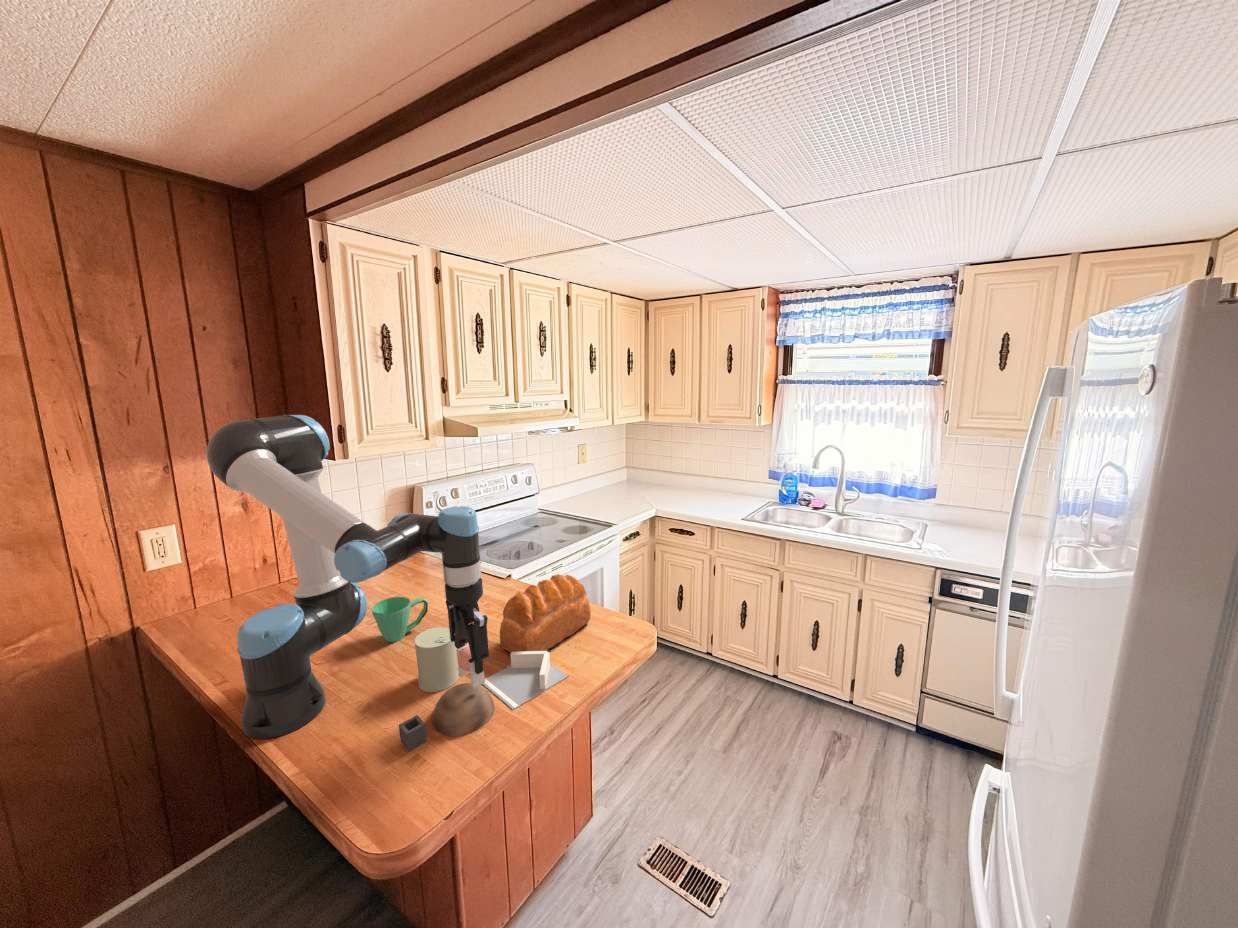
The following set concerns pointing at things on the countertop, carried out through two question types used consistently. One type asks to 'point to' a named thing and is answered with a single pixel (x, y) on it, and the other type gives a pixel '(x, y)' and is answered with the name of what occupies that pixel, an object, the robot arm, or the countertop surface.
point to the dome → (462, 710)
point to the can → (436, 659)
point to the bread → (544, 614)
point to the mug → (396, 616)
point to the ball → (464, 659)
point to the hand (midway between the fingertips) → (471, 678)
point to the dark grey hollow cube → (413, 733)
